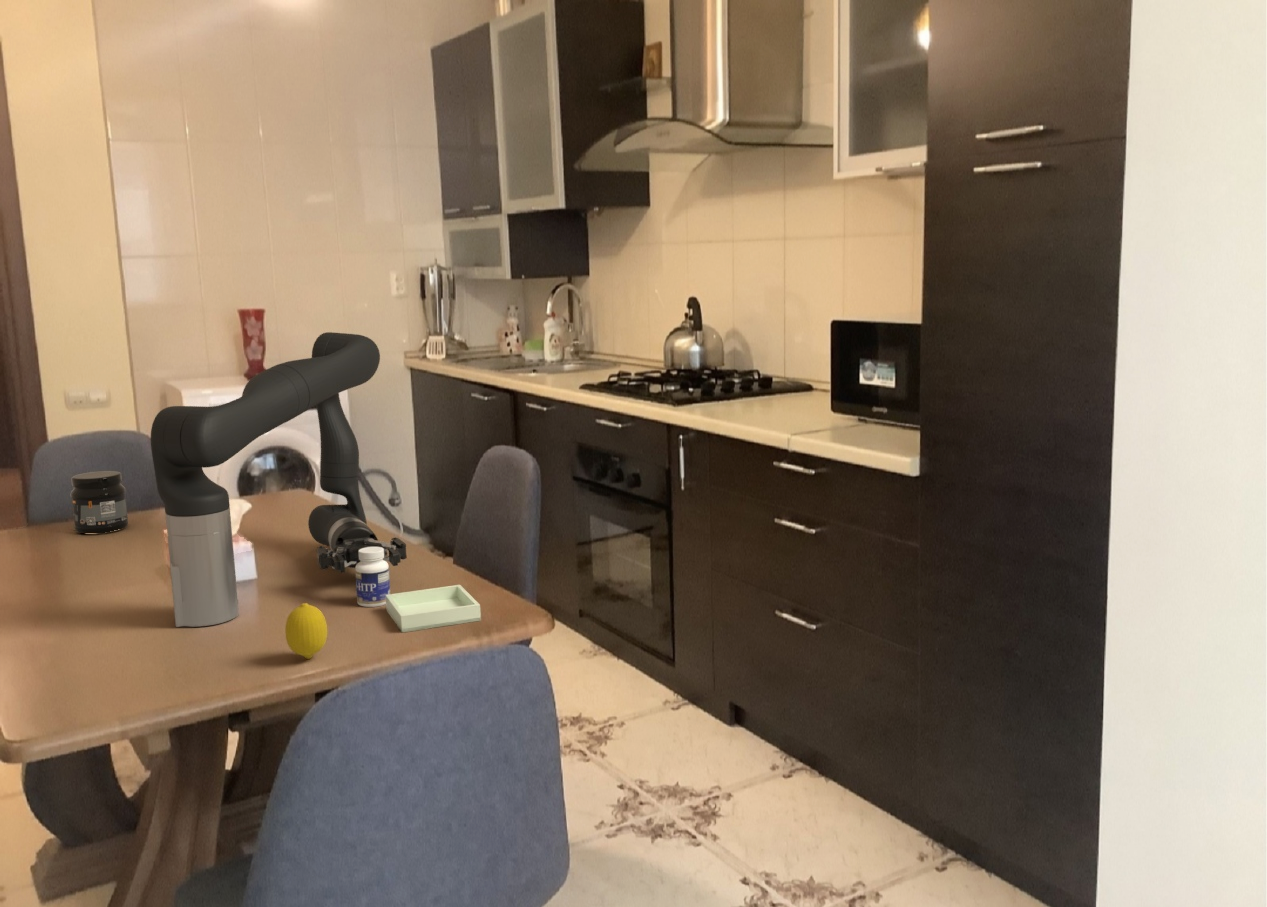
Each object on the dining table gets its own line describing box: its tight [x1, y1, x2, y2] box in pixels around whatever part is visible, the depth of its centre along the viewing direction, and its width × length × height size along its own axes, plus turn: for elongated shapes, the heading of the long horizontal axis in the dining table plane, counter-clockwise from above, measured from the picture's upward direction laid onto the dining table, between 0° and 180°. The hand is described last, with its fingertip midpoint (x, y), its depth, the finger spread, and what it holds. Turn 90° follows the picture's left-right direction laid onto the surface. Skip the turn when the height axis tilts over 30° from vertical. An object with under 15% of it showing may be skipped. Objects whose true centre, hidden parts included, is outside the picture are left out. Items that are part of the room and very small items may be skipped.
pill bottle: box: [354, 547, 391, 608], centre depth 171 cm, size 5×5×9 cm
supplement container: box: [69, 470, 129, 534], centre depth 226 cm, size 10×10×12 cm
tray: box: [385, 584, 482, 633], centre depth 165 cm, size 12×12×2 cm
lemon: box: [284, 602, 328, 660], centre depth 146 cm, size 6×6×8 cm
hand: (369, 563), depth 173 cm, fingers open, 8 cm apart
